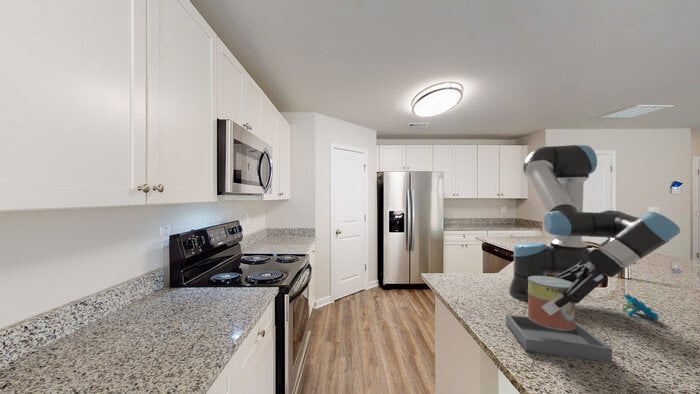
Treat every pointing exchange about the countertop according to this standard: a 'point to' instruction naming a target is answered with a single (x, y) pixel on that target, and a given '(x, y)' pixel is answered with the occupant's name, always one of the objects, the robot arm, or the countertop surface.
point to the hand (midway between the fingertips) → (541, 303)
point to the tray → (558, 340)
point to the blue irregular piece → (638, 307)
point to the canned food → (543, 292)
